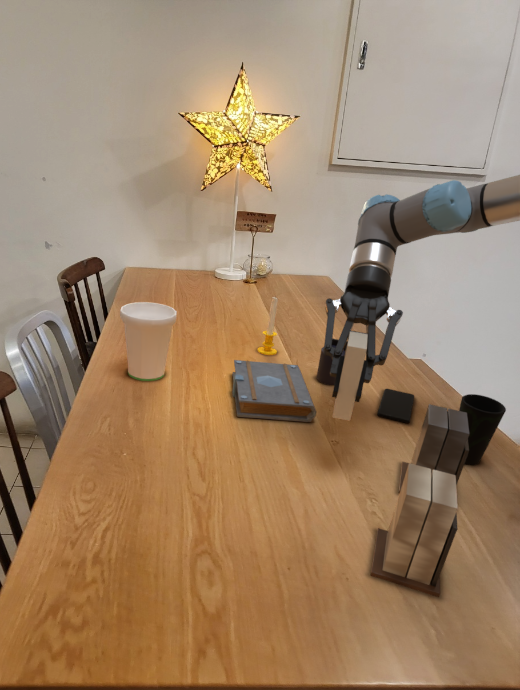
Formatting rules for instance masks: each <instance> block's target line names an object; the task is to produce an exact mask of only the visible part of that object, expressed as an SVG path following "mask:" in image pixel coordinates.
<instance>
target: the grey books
mask: <svg viewBox="0 0 520 690" xmlns="http://www.w3.org/2000/svg"><path fill="white" fill-rule="evenodd" d="M468 436H469V427H468V418H467V413H466V412H462V411H459V410H457V409H452V408H447V407H443V406H439V405H434V404H432V403H431V404H430V403H428V406H427V410H426V412H425V415H424V419H423V423H422V425H421V429H420V432H419V435H418V438H417V442H416V445H415V448H414V451H413V455H412V458H411V461H410V464H414V465H418V466H422V467H426V468H429V469H431V473H432V470H437V471H441V472H445V473H449V474H452V475H456V487H457V485H458V482H459V480H460V477H461V474H462V471H463V469H464V466H465V464H464V463H465V461H466V458H467V455H468V452H469V446H468ZM408 465H409V462H406V461H401V465H400V474H399V484H398V495H399V494H400V491H401V487H402V484H403V481H404V478H405V474H406V471H407V468H408Z"/></svg>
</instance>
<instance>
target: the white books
mask: <svg viewBox="0 0 520 690" xmlns="http://www.w3.org/2000/svg"><path fill="white" fill-rule="evenodd" d="M408 463H409V462H408ZM458 507H459V506H458V492H457V486H456V475H452V474H449V473H445V472H441V471H437V470H432V473H431V469H429V468H426V467H422V466H418V465H414V464H411V462H410V463H409V465H408V468H407V471H406V474H405V478H404V481H403V484H402V487H401V491H400V494H399V493H398V498H397V500H396V504H395V507H394V511H393V514H392V518H391V520H390V523H389V527H388V530H385V529H382V528H379V527H378V528H377V530H376V537H375V542H374V549H373V556H372V561H371V562H372V563H371V569H370V576H371V577H375V578H376V579H377V578H378V579H381V580H383V581H387V582H390V583H393V584H396V585H398V586H402V587H406V588H408V589H412V590H415V591H417V592H422V593H425V594H427V595H429V596H433V597H437V598H440V596H441V573H442V571H443V568H444V566H445V564H446V560H447V558H448V555H449V553H450V550H451V547H452V544H453V542H454V539H455V537H456V534H457V532H458V514H457V511H458Z"/></svg>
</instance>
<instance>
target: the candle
mask: <svg viewBox="0 0 520 690" xmlns="http://www.w3.org/2000/svg"><path fill="white" fill-rule="evenodd" d="M278 301H279V299H278V297H277V296H276V295H275V296H273V297H271V303H270V309H269V315H268V321H267V328H266V330H263V331H262V335H264V336H265V337H264V341H262V343H261V344H262V346H260V347H258V348H257V352H258V353H259V354H262V355H265V356H275V355H277V353H278V351H277V349H275V348H274V347H275V343H274V337H276V336H277V335H278V333H277V332H276V331H274V330H275V325H276V324H275V323H276V317H277V309H278Z"/></svg>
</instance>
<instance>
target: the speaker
mask: <svg viewBox="0 0 520 690" xmlns="http://www.w3.org/2000/svg"><path fill="white" fill-rule="evenodd" d="M338 340H339V338H338V339H337V338H334V337H333V338H332V347H334V348H336V345H337V343H338ZM346 346H347V342H346V345H345V347H344V350H343V352H342V355H341V356H345V351H346ZM323 351H324V346H322V348H321V349H320V355H319V359H318V366H317V372H316V380H317V381H318V383H321V384H324V385H327V386H334V385H335V380H336V377H332V376H330V369H331V364H332V358H331V357H330V356H326V355H324V353H323Z"/></svg>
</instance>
